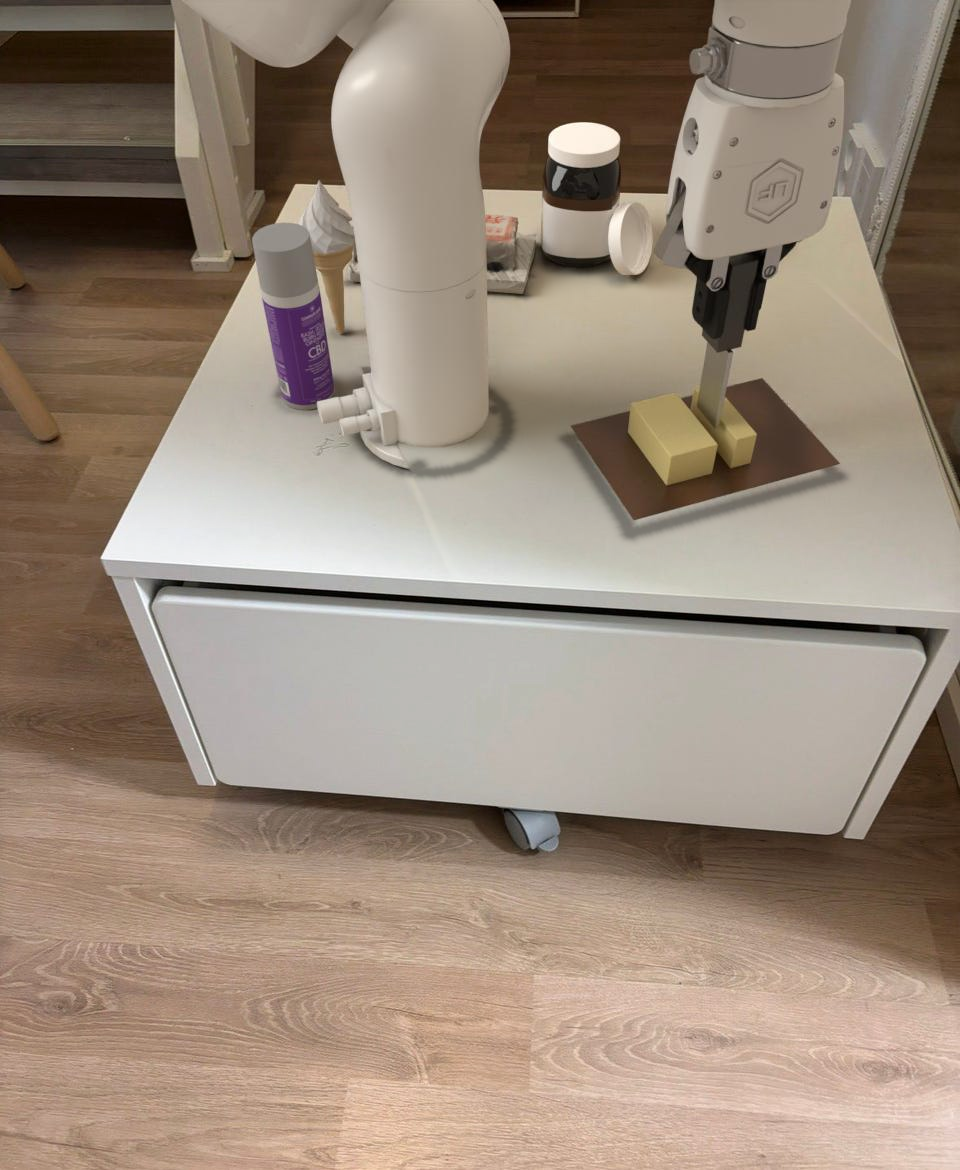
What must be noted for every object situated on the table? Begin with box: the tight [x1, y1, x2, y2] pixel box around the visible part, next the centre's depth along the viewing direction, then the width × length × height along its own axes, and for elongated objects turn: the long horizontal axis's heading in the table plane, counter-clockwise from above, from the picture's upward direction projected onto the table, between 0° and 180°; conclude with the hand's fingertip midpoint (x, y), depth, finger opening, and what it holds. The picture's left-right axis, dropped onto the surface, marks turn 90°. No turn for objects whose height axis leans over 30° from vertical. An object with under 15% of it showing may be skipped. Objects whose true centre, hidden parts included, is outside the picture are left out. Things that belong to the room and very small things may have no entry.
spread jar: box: [540, 121, 654, 276], centre depth 101 cm, size 12×11×12 cm
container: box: [251, 222, 336, 411], centre depth 85 cm, size 5×5×15 cm
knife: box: [697, 252, 758, 428], centre depth 75 cm, size 2×3×14 cm, turn 20°
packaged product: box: [346, 213, 538, 295], centre depth 103 cm, size 18×5×10 cm
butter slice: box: [690, 385, 757, 468], centre depth 82 cm, size 2×7×3 cm, turn 20°
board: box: [570, 377, 841, 521], centre depth 83 cm, size 18×12×2 cm, turn 110°
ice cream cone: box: [296, 179, 356, 335], centre depth 91 cm, size 6×6×15 cm
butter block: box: [628, 391, 718, 485], centre depth 81 cm, size 4×7×3 cm, turn 20°
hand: (724, 323), depth 74 cm, fingers closed on knife, 2 cm apart
